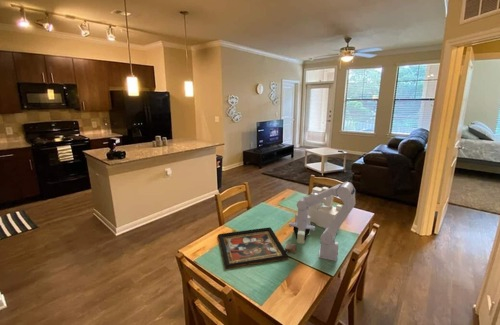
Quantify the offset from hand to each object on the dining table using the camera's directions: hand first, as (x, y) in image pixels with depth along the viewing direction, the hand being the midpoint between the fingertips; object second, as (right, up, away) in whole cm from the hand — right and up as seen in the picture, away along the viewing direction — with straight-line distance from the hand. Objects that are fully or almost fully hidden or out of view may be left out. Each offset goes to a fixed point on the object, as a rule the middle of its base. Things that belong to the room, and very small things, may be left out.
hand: (301, 239), depth 144 cm
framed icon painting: (-30, -5, 0) cm, 30 cm away
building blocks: (+20, +3, +28) cm, 35 cm away
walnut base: (-7, -6, -3) cm, 9 cm away
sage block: (0, -1, 0) cm, 1 cm away
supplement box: (+4, -1, +14) cm, 15 cm away
